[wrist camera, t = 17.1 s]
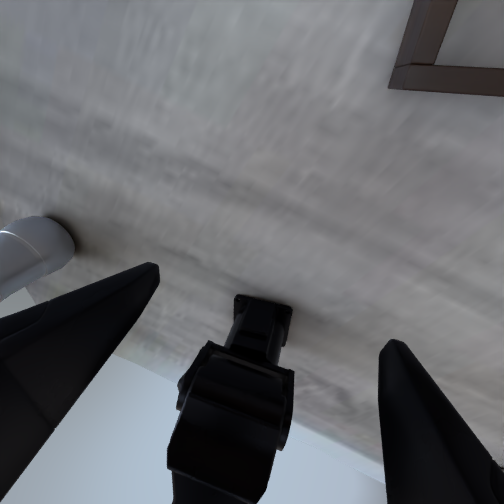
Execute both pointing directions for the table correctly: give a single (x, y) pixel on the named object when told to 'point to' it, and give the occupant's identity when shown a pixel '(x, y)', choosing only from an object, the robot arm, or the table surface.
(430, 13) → the tray
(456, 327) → the table surface
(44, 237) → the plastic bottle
